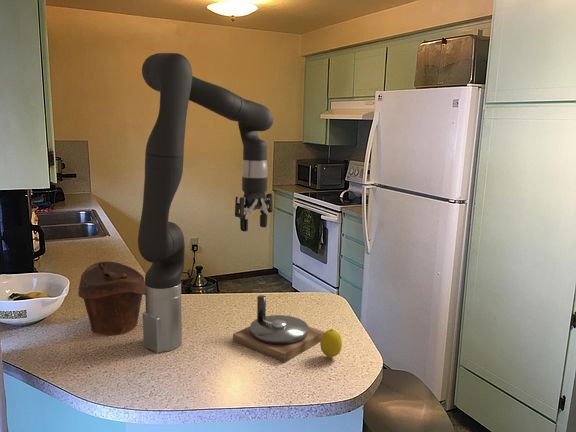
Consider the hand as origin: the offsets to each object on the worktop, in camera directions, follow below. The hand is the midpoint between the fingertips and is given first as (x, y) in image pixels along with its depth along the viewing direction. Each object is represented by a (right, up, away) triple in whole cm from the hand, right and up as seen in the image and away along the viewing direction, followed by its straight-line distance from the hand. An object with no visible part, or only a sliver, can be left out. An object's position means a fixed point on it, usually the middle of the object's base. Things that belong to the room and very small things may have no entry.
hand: (254, 229), depth 146 cm
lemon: (+21, -33, -20) cm, 44 cm away
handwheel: (+8, -28, -12) cm, 32 cm away
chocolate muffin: (-40, -29, -5) cm, 49 cm away
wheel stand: (+8, -31, -11) cm, 34 cm away
